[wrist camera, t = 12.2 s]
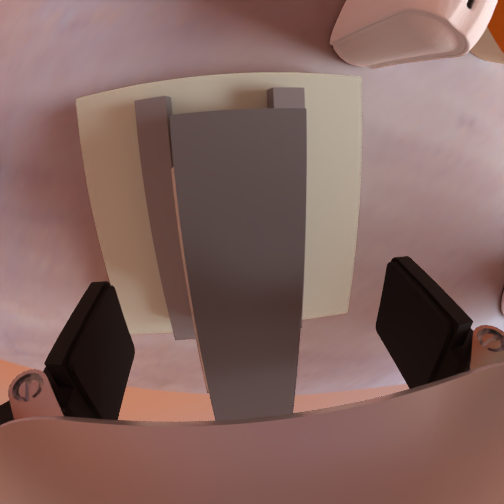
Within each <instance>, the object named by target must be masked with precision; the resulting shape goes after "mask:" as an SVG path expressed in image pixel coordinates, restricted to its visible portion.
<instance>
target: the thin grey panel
mask: <svg viewBox="0 0 504 504" xmlns="http://www.w3.org/2000/svg"><path fill="white" fill-rule="evenodd" d="M169 117H170V131H171V143H172V154H173V165H174V166H173V168H172V169H171V173H172V183H173V192H174V200H175V209H176V217H177V224H178V232H179V239H180V246H181V253H182V260H183V266H184V273H185V279H186V285H187V291H188V297H189V303H190V309H191V314H192V320H193V325H194V331H195V336H196V341H197V346H198V351H199V356H200V361H201V366H202V371H203V375H204V380H205V385H206V389H207V393H209V394H210V399H211V403H212V407H213V412H214V416H215V420H216V421H219V420H235V419H248V418H259V417H268V416H277V415H285V414H292V413H293V407H294V397H295V388H296V377H297V366H298V354H299V341H300V328H301V313H302V297H303V278H304V257H305V230H306V188H307V113H306V108H260V109H234V110H218V111H205V112H194V113H184V114H175V115H169Z"/></svg>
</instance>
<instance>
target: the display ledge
mask: <svg viewBox="0 0 504 504" xmlns="http://www.w3.org/2000/svg"><path fill="white" fill-rule="evenodd" d="M260 108H306V113H307V188H306V230H305V257H304V278H303V297H302V313H301V328H302V320H305V319H312V318H319V317H326V316H333V315H339V314H346V313H348V306H349V299H350V292H351V284H352V276H353V268H354V259H355V250H356V240H357V229H358V216H359V202H360V186H361V163H362V77H359V76H349V75H337V74H322V73H299V72H256V73H232V74H217V75H205V76H195V77H186V78H178V79H170V80H163V81H157V82H150V83H144V84H139V85H133V86H128V87H123V88H118V89H113V90H109V91H105V92H100V93H96V94H92V95H88V96H84V97H80V98H77V99H76V109H77V119H78V128H79V137H80V144H81V152H82V159H83V165H84V171H85V177H86V183H87V188H88V194H89V199H90V204H91V209H92V214H93V218H94V223H95V227H96V231H97V236H98V240H99V244H100V248H101V252H102V256H103V259H104V263H105V267H106V270H107V274H108V277H109V281H110V284H111V285H113V286H114V287H115V289H116V293H117V296H118V299H119V302H120V306H121V309H122V312H123V315H124V318H125V321H126V324H127V327H128V330H129V333H130V334H153V333H171V332H173V334H174V337H175V340H186V339H196V336H195V331H194V325H193V320H192V314H191V309H190V303H189V297H188V291H187V285H186V279H185V273H184V266H183V260H182V253H181V246H180V239H179V232H178V224H177V217H176V209H175V200H174V192H173V183H172V173H171V169H172V168H173V166H174V165H173V154H172V143H171V131H170V117H169V115H175V114H184V113H194V112H205V111H218V110H234V109H260Z"/></svg>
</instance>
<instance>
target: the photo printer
mask: <svg viewBox="0 0 504 504" xmlns="http://www.w3.org/2000/svg"><path fill="white" fill-rule="evenodd" d="M497 2H498V0H346V2H345V4H344V6H343V8H342V10H341V12H340V14H339V17H338V19H337V21H336V23H335V26H334V28H333V31H332V34H331V37H330V44H331V45H333V49H334V50H335V52H336V53H337V54H338V56H339V57H340V58H342V59H343V60H344V61H346V62H347V63H349V64H351V65H354V66H359V67H363V66H368V67H369V68H373V69H374V68H380V67H385V66H391V65H397V64H403V63H409V62H416V61H424V60H433V59H442V58H453V57H460V56H463V55H465V54H467V53H468V52H469V51H470V50H471V49H472V47H473V46H474V45H475V44H476V43H477V42H478V40H479V39H480V37H481V36H482V34H483V33H484V31H485V29H486V27H487V25H488V23H489V21H490V19H491V17H492V14H493V12H494V9H495V6H496V4H497Z"/></svg>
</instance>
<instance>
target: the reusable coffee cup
mask: <svg viewBox="0 0 504 504" xmlns="http://www.w3.org/2000/svg"><path fill="white" fill-rule="evenodd" d="M470 52H471V53H472V54H474V55H475V56H476V57H478V58H480V59H482V60H485V61H490V62H496V63H501V64H504V0H498V2H497V4H496V6H495V9H494V12H493V14H492V17H491V19H490V21H489V23H488V25H487V27H486V29H485V31H484V33H483V34H482V36H481V37H480V39H479V40H478V42H477V43H476V44H475V45H474V46H473V47H472V49H471V50H470Z"/></svg>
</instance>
